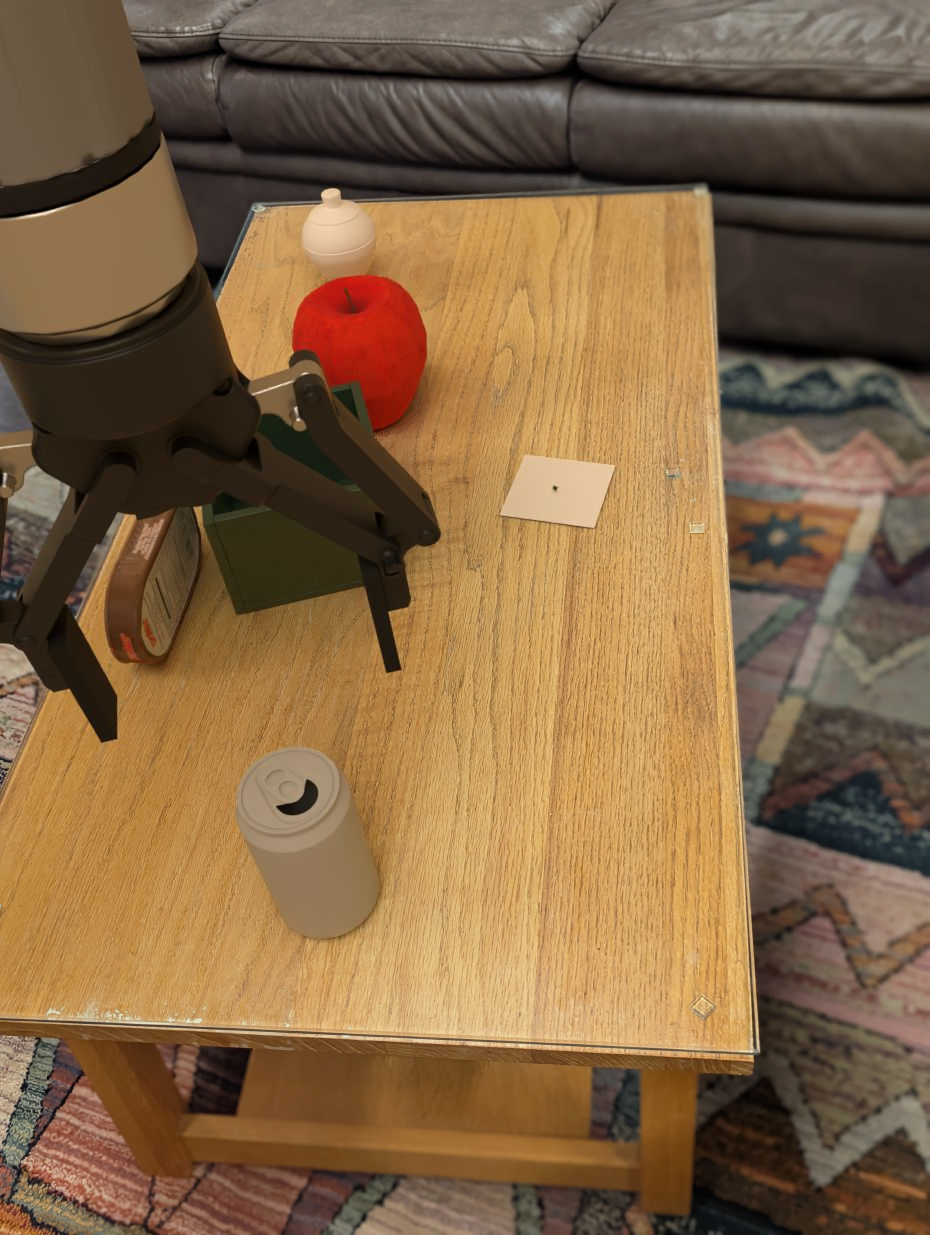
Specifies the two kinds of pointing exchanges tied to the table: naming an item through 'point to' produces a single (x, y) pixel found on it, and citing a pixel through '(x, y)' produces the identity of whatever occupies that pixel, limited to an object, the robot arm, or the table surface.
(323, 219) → the spinning top
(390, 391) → the apple
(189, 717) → the table surface
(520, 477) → the coaster
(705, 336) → the table surface
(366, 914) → the beverage can
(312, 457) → the waste bin
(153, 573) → the tin
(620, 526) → the table surface
